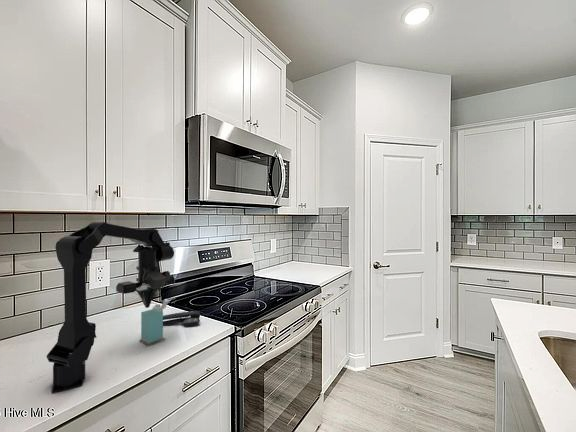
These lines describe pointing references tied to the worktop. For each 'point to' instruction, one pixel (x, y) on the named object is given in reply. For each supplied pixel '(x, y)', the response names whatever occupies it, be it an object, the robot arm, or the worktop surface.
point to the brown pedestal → (150, 343)
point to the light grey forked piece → (162, 305)
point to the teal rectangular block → (151, 325)
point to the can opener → (186, 322)
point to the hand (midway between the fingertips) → (147, 307)
